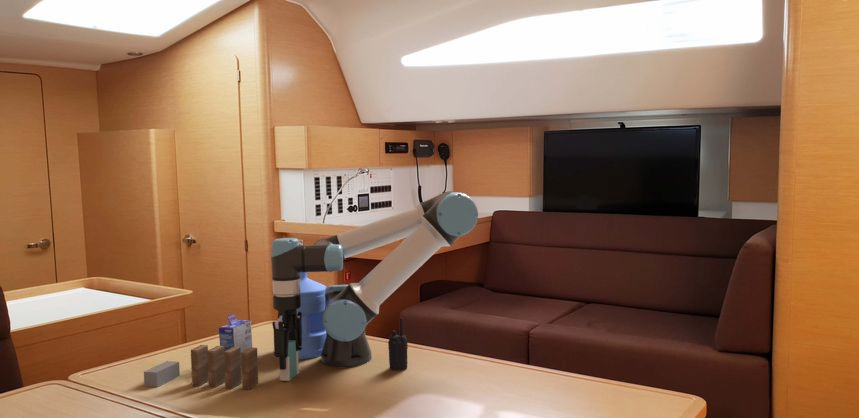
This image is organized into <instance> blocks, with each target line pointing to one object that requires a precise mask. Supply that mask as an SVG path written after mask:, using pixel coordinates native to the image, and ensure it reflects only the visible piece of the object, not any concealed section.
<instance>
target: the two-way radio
mask: <svg viewBox="0 0 859 418" xmlns="http://www.w3.org/2000/svg"><path fill="white" fill-rule="evenodd" d="M403 322H404V320H403V318H402V317H400V318H399V334H397V332H396V329H395V330H394V329H393V330H392V331H391V335H390V336H389V339H388V363H389V364H388V365H389V369H390V370H391V371H405V370H407V369H408V339H407V336H406V334H404V323H403Z"/></svg>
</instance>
